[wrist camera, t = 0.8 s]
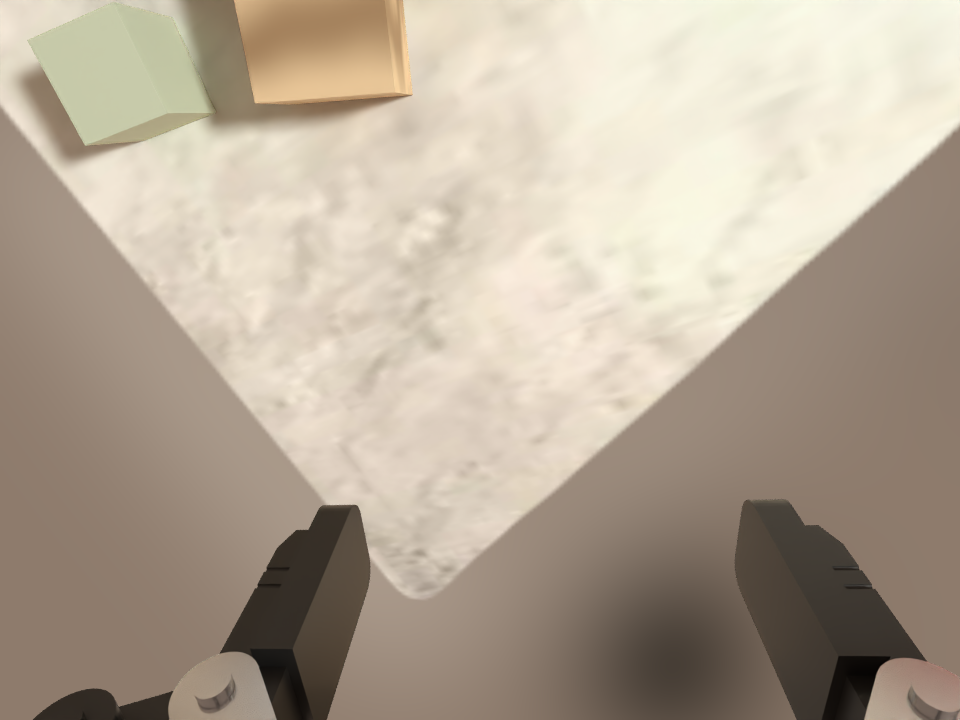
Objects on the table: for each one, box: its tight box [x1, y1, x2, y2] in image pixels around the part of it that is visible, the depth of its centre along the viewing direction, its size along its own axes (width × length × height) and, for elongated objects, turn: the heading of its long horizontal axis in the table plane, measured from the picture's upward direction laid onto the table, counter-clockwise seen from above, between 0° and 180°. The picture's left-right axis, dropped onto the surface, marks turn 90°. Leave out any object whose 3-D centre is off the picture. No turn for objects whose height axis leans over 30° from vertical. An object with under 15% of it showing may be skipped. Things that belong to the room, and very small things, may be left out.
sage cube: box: [27, 2, 216, 146], centre depth 30 cm, size 5×5×5 cm
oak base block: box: [234, 0, 413, 104], centre depth 29 cm, size 7×7×5 cm
